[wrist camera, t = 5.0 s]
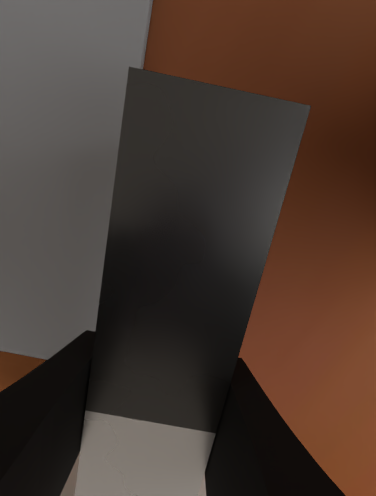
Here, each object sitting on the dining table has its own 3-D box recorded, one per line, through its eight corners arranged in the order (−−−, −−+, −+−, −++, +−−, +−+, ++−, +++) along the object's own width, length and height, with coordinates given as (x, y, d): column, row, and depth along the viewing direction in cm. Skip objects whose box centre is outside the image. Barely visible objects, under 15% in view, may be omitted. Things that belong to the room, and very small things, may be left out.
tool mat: (159, -47, 12) (158, -55, 11) (99, 362, 17) (97, 369, 16) (-63, -100, 11) (-74, -111, 11) (-52, 334, 17) (-59, 339, 16)
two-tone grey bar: (264, 122, 9) (310, 106, 5) (172, 489, 13) (163, 615, 9) (155, 99, 8) (128, 66, 5) (97, 477, 13) (61, 599, 9)
